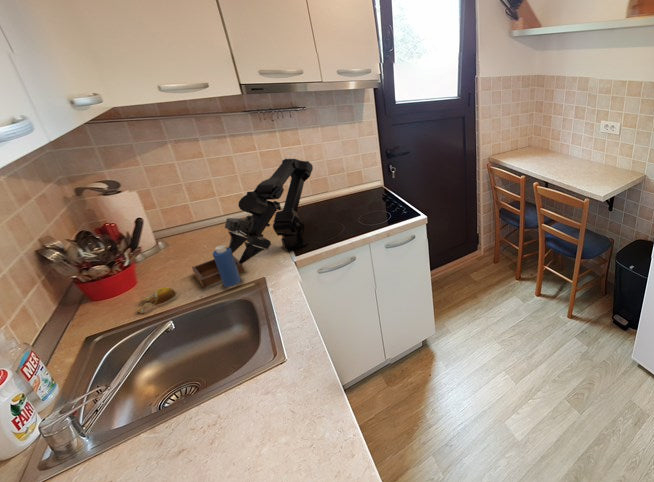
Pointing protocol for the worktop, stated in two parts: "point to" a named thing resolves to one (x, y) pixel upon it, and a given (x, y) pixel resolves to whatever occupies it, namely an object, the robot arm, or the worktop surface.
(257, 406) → the worktop surface
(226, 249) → the bottle
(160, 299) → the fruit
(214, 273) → the tray
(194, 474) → the worktop surface
